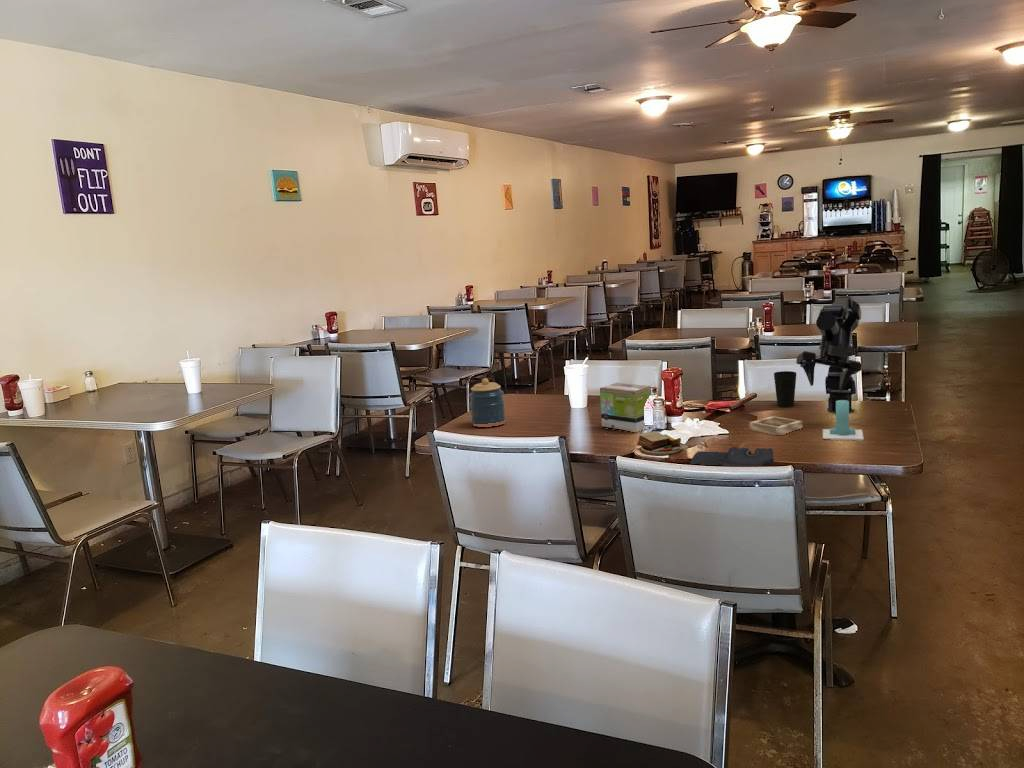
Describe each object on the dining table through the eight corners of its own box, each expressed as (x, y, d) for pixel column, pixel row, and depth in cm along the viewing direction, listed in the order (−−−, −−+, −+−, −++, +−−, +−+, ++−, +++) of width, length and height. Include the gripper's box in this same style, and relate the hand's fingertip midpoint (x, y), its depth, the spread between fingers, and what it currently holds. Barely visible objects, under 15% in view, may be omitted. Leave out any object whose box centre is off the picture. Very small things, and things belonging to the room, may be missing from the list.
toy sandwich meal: (654, 459, 220) (654, 443, 219) (631, 449, 232) (630, 434, 231) (691, 451, 224) (690, 436, 223) (666, 442, 236) (665, 428, 235)
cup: (793, 402, 276) (793, 370, 274) (799, 407, 268) (799, 374, 266) (772, 404, 276) (771, 371, 274) (777, 408, 269) (776, 375, 267)
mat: (822, 430, 234) (822, 429, 234) (861, 431, 230) (861, 429, 230) (822, 439, 224) (822, 438, 224) (863, 440, 220) (863, 438, 220)
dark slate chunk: (696, 457, 219) (695, 441, 218) (776, 459, 210) (775, 443, 209) (686, 472, 205) (686, 456, 204) (772, 476, 196) (771, 458, 195)
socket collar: (772, 423, 248) (772, 416, 248) (802, 428, 239) (802, 421, 238) (749, 430, 242) (749, 422, 242) (779, 435, 233) (779, 427, 232)
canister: (484, 430, 272) (480, 382, 269) (465, 425, 282) (460, 379, 279) (513, 423, 279) (509, 376, 276) (493, 419, 290) (489, 374, 287)
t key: (829, 432, 230) (829, 400, 228) (855, 432, 227) (854, 400, 225) (830, 435, 226) (829, 402, 225) (855, 435, 224) (855, 402, 222)
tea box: (601, 429, 260) (598, 387, 258) (618, 422, 267) (616, 382, 265) (636, 433, 250) (634, 390, 247) (654, 427, 256) (651, 384, 254)
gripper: (811, 328, 233) (806, 375, 229) (871, 340, 232) (867, 387, 228) (798, 339, 244) (793, 385, 240) (855, 350, 243) (851, 396, 239)
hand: (826, 388), depth 237 cm, fingers open, 9 cm apart
